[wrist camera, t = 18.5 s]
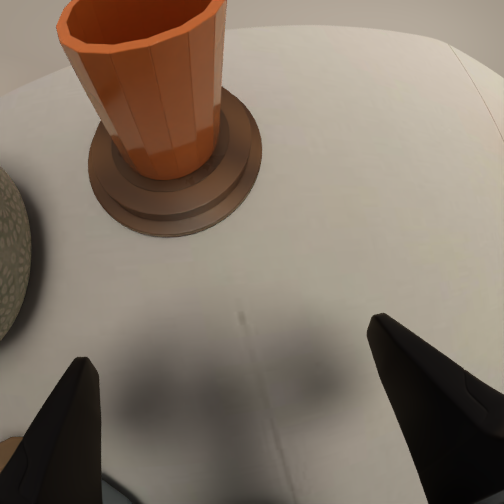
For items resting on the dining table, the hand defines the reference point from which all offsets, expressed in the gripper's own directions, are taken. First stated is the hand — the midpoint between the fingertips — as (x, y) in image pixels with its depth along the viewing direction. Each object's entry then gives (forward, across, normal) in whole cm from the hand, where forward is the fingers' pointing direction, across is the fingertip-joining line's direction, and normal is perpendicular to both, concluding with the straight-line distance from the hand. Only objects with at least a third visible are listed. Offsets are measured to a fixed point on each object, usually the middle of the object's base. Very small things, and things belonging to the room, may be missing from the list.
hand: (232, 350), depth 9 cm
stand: (+19, +2, 0) cm, 19 cm away
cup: (+17, +2, -2) cm, 17 cm away
